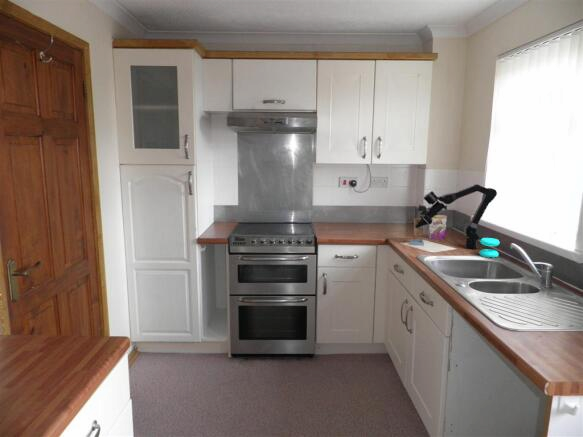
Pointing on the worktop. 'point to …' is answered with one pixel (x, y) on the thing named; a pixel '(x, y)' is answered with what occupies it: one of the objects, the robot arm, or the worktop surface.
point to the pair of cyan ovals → (488, 251)
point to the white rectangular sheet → (430, 246)
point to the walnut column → (417, 230)
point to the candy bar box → (437, 227)
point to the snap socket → (417, 242)
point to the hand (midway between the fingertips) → (415, 226)
